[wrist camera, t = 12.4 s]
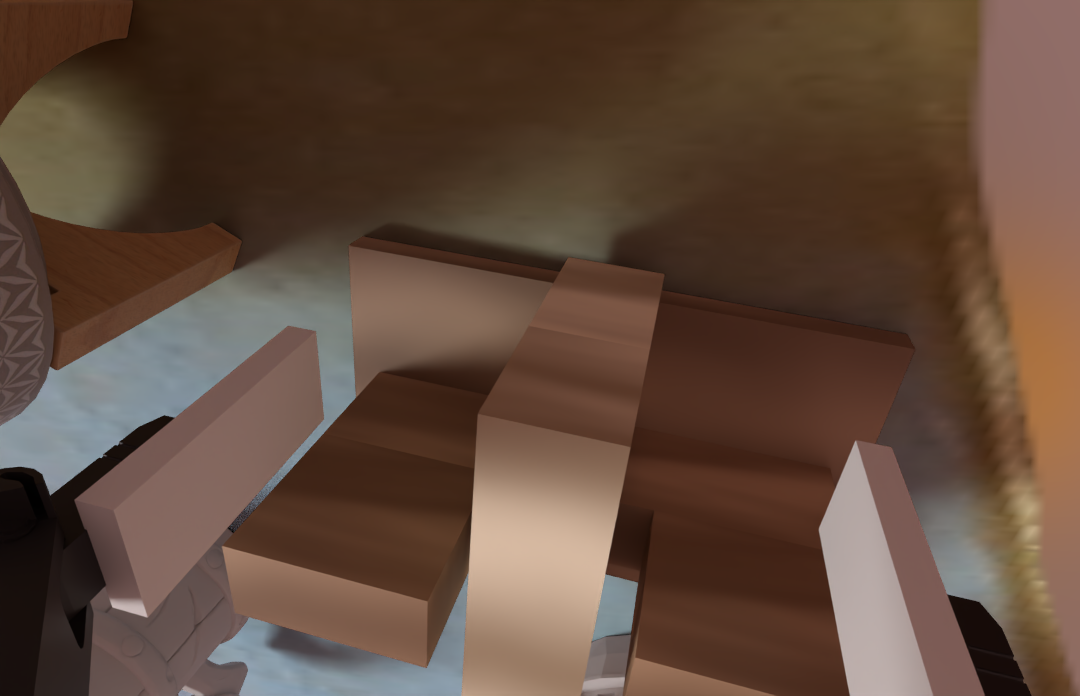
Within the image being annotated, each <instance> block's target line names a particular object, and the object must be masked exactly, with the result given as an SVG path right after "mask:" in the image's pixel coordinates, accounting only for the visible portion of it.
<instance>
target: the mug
mask: <svg viewBox="0 0 1080 696" xmlns="http://www.w3.org/2000/svg"><path fill="white" fill-rule="evenodd" d="M232 534H233V532H231V531H230V530H229V529H228V528H227V529H226V530H225V531H224V532H223V533H222V535H221V536H220V537H219V538H218V539H217V540H216V541H215V542H214V544H213V545H212V546H211V547H210V548H209V549H208V550H207V551H206V553H205V554H204V555H203V556H202V557H201V558H200V559H199V560H198V562H197V563H196V564H195V565H194V566H193V567H192V568H191V569H190V571H189V572H188V573H187V574H186V575H185V576H184V577H183V578H182V580H181V581H180V582H179V583H178V584H177V585H176V586H175V587H174V589H173V590H172V591H171V592H170V593H169V594H168V595H167V597H166V598H165V599H164V600H163V601H162V602H161V603H160V604H159V606H158V607H157V608H156V609H155V610H154V611H153V612H152V613H151V615H150V616H149V617H144V616H141V615H137V614H134V613H130V612H126V611H123V610H119V609H116V608H112V605H111V602H110V599H109V596H108V594H107V591H106V588H105V587H104V588H103V589H102V590H101V591H100V592H99V593H98V594H97V595H96V596H95V597H94V598H93V599H92V600H91V601H90V602H91V605H92V609H93V613H94V617H93V634H92V650H91V667H90V683H89V696H179V695H178V693H179V692H180V691H181V689H182V690H184V691H187V692H190V693H192V694H194V695H191V696H239V693H240V690H241V687H242V685H243V682H244V680H245V677H246V675H247V672H248V669H247V666H246V664H245V663H244V662H230V663H226V664H221V665H218V664H215V663H213V662H211V661H209V660H208V659H207V658H208V657H209V656H210V655H211V653H212V652H213V651H214V650H215V649H216V647H217V646H218V645H219V644H221V643H224V642H226V641H228V640H230V639H232V638H233V637H234V636H235V635H236V634H237V633H238V632H239V631H240V630H241V628H242V627H243V626H244V624H245V623H246V622H247V620H248V618H249V617H247V616H244V615H240V614H237V613H235V611H234V605H233V600H232V595H231V590H230V585H229V580H228V574H227V569H226V564H225V559H224V554H223V549H222V545H223V544H224V543H225V542H226V541H227V540H228V539H229V538H230V537H231V535H232Z"/></svg>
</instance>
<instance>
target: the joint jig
mask: <svg viewBox="0 0 1080 696" xmlns="http://www.w3.org/2000/svg"><path fill="white" fill-rule="evenodd" d="M348 248H349V268H350V288H351V308H352V328H353V348H354V368H355V388H356V398H355V400H354V401H353V402H352V403H351V404H350V405H349V406H348V407H347V408H346V409H345V411H344V412H343V413H342V414H341V415H340V416H339V417H338V418H337V419H336V421H335V422H334V423H333V424H332V425H331V426H330V427H329V428H328V429H327V430H326V432H325V433H324V434H323V435H322V436H321V437H320V438H319V439H318V440H317V442H316V443H315V444H314V445H313V446H312V447H311V448H310V449H309V450H308V451H307V453H306V454H305V455H304V456H303V457H302V458H301V459H300V460H299V461H298V463H297V464H296V465H295V466H294V467H293V468H292V469H291V470H290V471H289V472H288V474H287V475H286V476H285V477H284V478H283V479H282V480H281V481H280V482H279V483H278V485H277V486H276V487H275V488H274V489H273V490H272V491H271V492H270V493H269V495H268V496H267V497H266V498H265V499H264V500H263V501H262V502H261V503H260V504H259V506H258V507H257V508H256V509H255V510H254V511H253V512H252V513H251V514H250V516H249V517H248V518H247V519H246V520H245V521H244V522H243V523H242V524H241V525H240V527H239V528H238V529H237V530H236V531H235V532H234V533H233V534H232V535H231V537H230V538H229V539H228V540H227V541H226V542H225V543H224V544H223V545H222V549H223V554H224V559H225V564H226V569H227V574H228V580H229V585H230V590H231V595H232V600H233V605H234V611H235V613H237V614H240V615H244V616H247V617H251V618H254V619H258V620H261V621H265V622H268V623H272V624H275V625H279V626H282V627H286V628H289V629H293V630H296V631H300V632H303V633H307V634H310V635H314V636H317V637H320V638H324V639H327V640H331V641H334V642H338V643H341V644H345V645H348V646H352V647H355V648H359V649H362V650H366V651H369V652H373V653H376V654H380V655H383V656H387V657H390V658H394V659H397V660H401V661H404V662H407V663H411V664H414V665H418V666H421V667H425V668H427V666H428V663H429V661H430V659H431V657H432V654H433V652H434V650H435V647H436V645H437V643H438V641H439V638H440V636H441V634H442V631H443V629H444V627H445V624H446V622H447V620H448V618H449V615H450V613H451V611H452V608H453V606H454V604H455V602H456V599H457V597H458V595H459V592H460V590H461V588H462V585H463V583H464V581H465V579H466V576H467V574H468V572H469V558H470V541H471V523H472V506H473V489H474V471H475V454H476V436H477V419H478V413H479V411H480V409H481V407H482V406H483V404H484V402H485V400H486V399H487V397H488V395H489V394H490V392H491V390H492V388H493V387H494V385H495V383H496V381H497V380H498V378H499V376H500V375H501V373H502V371H503V369H504V368H505V366H506V364H507V362H508V361H509V359H510V357H511V356H512V354H513V352H514V350H515V349H516V347H517V345H518V343H519V342H520V340H521V338H522V337H523V335H524V333H525V331H526V330H527V328H528V326H529V324H530V323H531V321H532V319H533V318H534V316H535V314H536V312H537V311H538V309H539V307H540V305H541V304H542V302H543V300H544V299H545V297H546V295H547V293H548V292H549V290H550V288H551V286H552V285H553V283H554V281H555V280H556V278H557V276H558V274H559V273H560V272H558V271H552V270H547V269H541V268H535V267H530V266H524V265H519V264H513V263H508V262H502V261H497V260H491V259H485V258H480V257H474V256H469V255H463V254H458V253H452V252H447V251H441V250H435V249H430V248H424V247H419V246H413V245H408V244H402V243H396V242H391V241H385V240H380V239H374V238H369V237H363V236H362V237H360V238H359V239H357V240H356V241H354V242H353V243H351V244H350V245H349V246H348ZM914 352H915V347H914V346H913V344H912V342H911V340H910V338H909V337H908V335H907V334H902V333H897V332H891V331H886V330H880V329H875V328H869V327H864V326H858V325H852V324H847V323H841V322H836V321H830V320H825V319H819V318H813V317H808V316H802V315H797V314H791V313H786V312H780V311H775V310H769V309H763V308H758V307H752V306H747V305H741V304H736V303H730V302H725V301H719V300H713V299H708V298H702V297H697V296H691V295H686V294H680V293H674V292H669V291H663V290H662V291H661V296H660V301H659V306H658V311H657V316H656V321H655V326H654V331H653V336H652V341H651V346H650V351H649V356H648V362H647V367H646V372H645V377H644V382H643V387H642V392H641V397H640V402H639V407H638V412H637V417H636V422H635V427H634V432H633V438H632V443H631V448H630V453H629V458H628V463H627V468H626V473H625V478H624V483H623V488H622V493H621V498H620V503H619V508H618V513H617V518H616V523H615V528H614V533H613V538H612V543H611V548H610V553H609V558H608V563H607V568H606V573H605V574H607V575H611V576H615V577H619V578H623V579H627V580H631V581H635V582H638V587H637V595H636V602H635V609H634V616H633V623H632V631H631V638H630V645H629V652H628V659H627V667H626V674H625V681H624V688H623V695H622V696H850V694H849V689H848V683H847V678H846V672H845V667H844V662H843V656H842V651H841V646H840V640H839V635H838V630H837V624H836V619H835V614H834V608H833V603H832V598H831V592H830V587H829V582H828V576H827V571H826V566H825V560H824V555H823V550H822V544H821V539H820V533H819V527H820V525H821V522H822V520H823V518H824V515H825V513H826V510H827V508H828V506H829V503H830V501H831V498H832V496H833V494H834V491H835V489H836V486H837V484H838V482H839V479H840V477H841V474H842V472H843V470H844V467H845V465H846V462H847V460H848V457H849V455H850V453H851V450H852V448H853V445H854V443H855V441H856V440H858V441H863V442H868V443H873V444H876V441H877V439H878V437H879V434H880V432H881V430H882V427H883V425H884V422H885V420H886V418H887V415H888V413H889V411H890V408H891V406H892V404H893V401H894V399H895V397H896V394H897V392H898V389H899V387H900V385H901V382H902V380H903V378H904V375H905V373H906V371H907V368H908V366H909V364H910V361H911V359H912V357H913V354H914Z"/></svg>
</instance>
